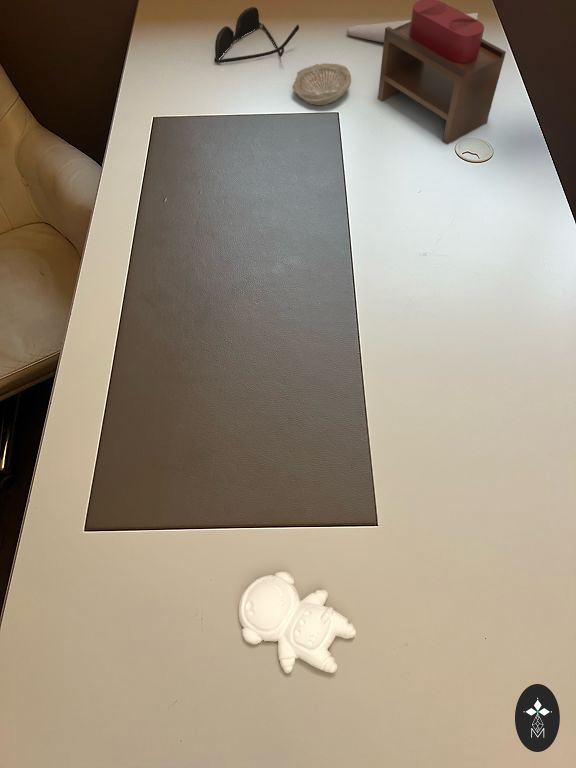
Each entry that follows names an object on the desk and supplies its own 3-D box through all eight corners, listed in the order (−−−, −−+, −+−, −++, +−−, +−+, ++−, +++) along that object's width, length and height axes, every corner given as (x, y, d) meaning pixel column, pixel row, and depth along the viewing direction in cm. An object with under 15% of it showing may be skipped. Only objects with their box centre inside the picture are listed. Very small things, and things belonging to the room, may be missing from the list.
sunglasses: (271, 81, 120) (270, 55, 116) (209, 62, 125) (206, 37, 121) (313, 41, 128) (313, 16, 124) (254, 25, 133) (252, -1, 129)
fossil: (289, 110, 116) (287, 96, 114) (303, 74, 122) (301, 60, 120) (344, 113, 114) (343, 99, 112) (355, 76, 120) (355, 62, 117)
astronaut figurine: (318, 699, 60) (318, 694, 58) (222, 623, 64) (219, 615, 62) (366, 622, 64) (369, 615, 62) (273, 555, 68) (272, 546, 66)
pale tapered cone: (338, 31, 122) (475, 27, 116) (346, 8, 126) (479, 4, 120) (341, 69, 128) (471, 68, 122) (348, 47, 133) (474, 44, 126)
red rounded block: (402, 33, 106) (406, 6, 103) (426, 22, 108) (430, -5, 105) (460, 67, 100) (467, 39, 97) (484, 55, 102) (491, 27, 98)
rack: (416, 79, 120) (427, 9, 109) (486, 123, 112) (506, 51, 101) (377, 98, 117) (385, 27, 106) (447, 144, 108) (462, 72, 98)
